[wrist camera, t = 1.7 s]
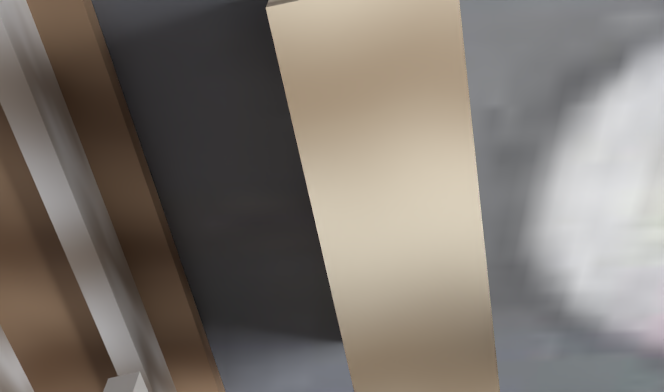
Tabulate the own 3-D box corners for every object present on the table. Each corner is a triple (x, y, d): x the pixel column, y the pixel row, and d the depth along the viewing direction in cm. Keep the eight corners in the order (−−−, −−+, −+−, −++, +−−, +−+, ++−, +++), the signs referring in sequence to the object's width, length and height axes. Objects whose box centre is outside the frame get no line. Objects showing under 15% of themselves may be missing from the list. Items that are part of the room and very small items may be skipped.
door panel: (416, 327, 30) (521, 599, 17) (352, 341, 30) (408, 624, 17) (356, -30, 23) (455, -34, 10) (273, -12, 23) (265, 7, 10)
